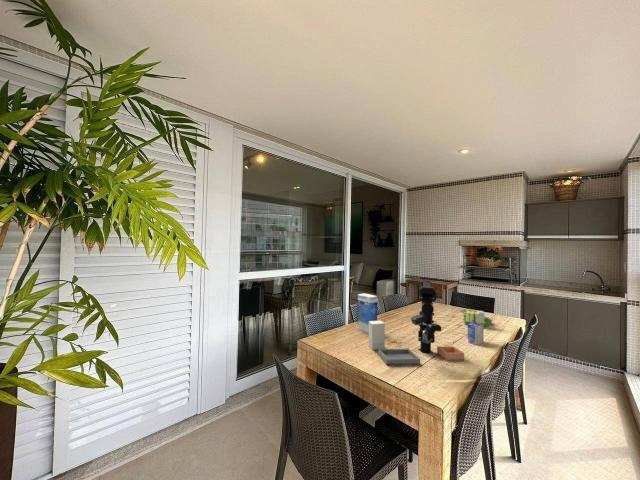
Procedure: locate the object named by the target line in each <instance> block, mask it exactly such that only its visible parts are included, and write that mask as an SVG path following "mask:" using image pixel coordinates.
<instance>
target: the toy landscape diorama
mask: <svg viewBox="0 0 640 480" xmlns="http://www.w3.org/2000/svg"><path fill="white" fill-rule="evenodd" d="M460 313H462V315H463V319H462V320H463V322H464V325H467V326H468V324H471V323H473V322H475V321H476V322H477V323H481V324H483V327H490V326H491V324H492V322H493V320H492V319H491V318H489V316H485V312H484V311H483V310H477V309H476V310H475V309H472V310H471V308H468V309H460ZM472 320H475V321H473V322H472Z"/></svg>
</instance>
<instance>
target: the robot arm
mask: <svg viewBox="0 0 640 480" xmlns="http://www.w3.org/2000/svg"><path fill="white" fill-rule="evenodd" d="M418 294H419V301H421V306H420V307H421V310H420V311H419V314H415V315H413V316H411V317H410V320H411V323H412V324H413V325H414V326H418V327H419V330H418V335H417V336H418V337H417V340H418V342H420V348H417V350H418V351H419V352H421V354H433V353H434V351H432V344H434V343H435V342H436V341H435V340H436V339H435V338H436V335H435V332H442V326H441V325H440V324H438V323H435V320H433V317H434V316H435V313H434V310H435V309H434V308H435V307H434V303H433V302H435V303H436V300H437V291H436V290H435V289H434V285H433V284H432V282H431V281H430V280H422V281H421V283H420V284H419V285H418ZM423 330H426V331H427V340H428V341H430V339H431V343H429V344H427V343H423Z"/></svg>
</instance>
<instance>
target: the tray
mask: <svg viewBox="0 0 640 480" xmlns="http://www.w3.org/2000/svg"><path fill="white" fill-rule="evenodd" d="M377 354H378V356H379V358H380V359H381V360H382V361H383V363H384V364H385V365H386V366H416V365H418V366H419V365H421V358H420V357H419V356H417V355H416V353H414V351H412V350H411V349H410V348H385V349H378V351H377Z"/></svg>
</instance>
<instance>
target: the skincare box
mask: <svg viewBox="0 0 640 480" xmlns="http://www.w3.org/2000/svg"><path fill="white" fill-rule="evenodd" d="M385 326H386V323H385V322H383V321H382V320H377V321H369V334H368V347H369V348H370V349H371V350H372V351H375V350H376V351H377V350H378V349H386V347H385V343H386V340H385V335H386V333H385V332H386V330H385V328H386V327H385Z"/></svg>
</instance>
